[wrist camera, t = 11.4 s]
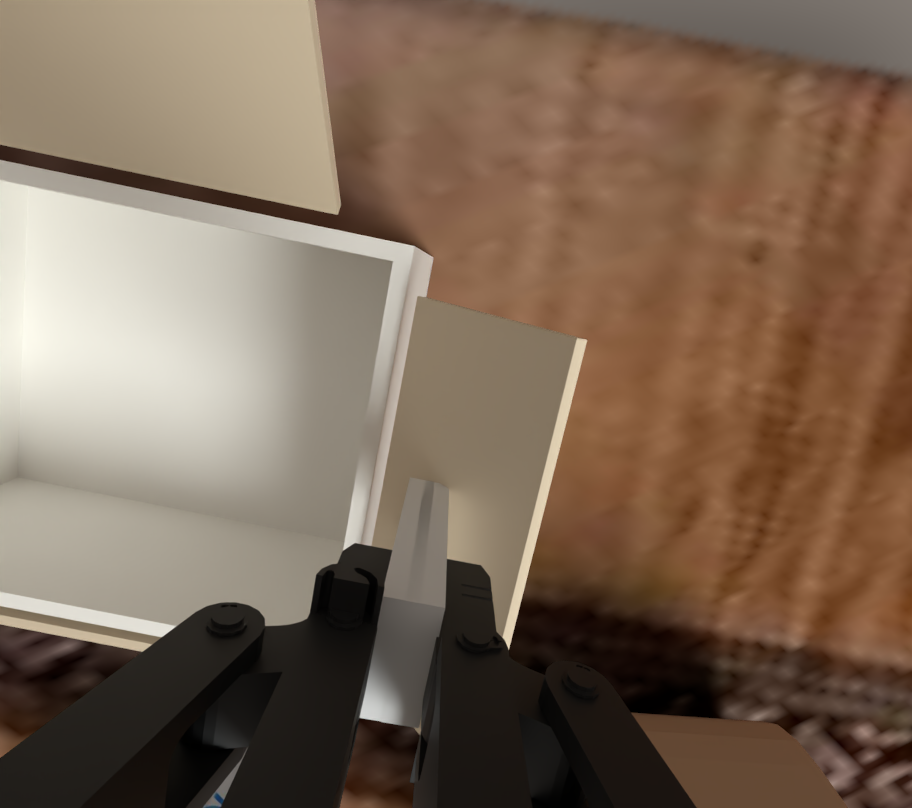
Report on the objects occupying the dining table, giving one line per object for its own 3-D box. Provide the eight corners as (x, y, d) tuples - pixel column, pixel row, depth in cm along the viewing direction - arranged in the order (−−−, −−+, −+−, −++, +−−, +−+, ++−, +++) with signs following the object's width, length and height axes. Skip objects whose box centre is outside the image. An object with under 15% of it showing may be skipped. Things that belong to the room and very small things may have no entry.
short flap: (465, 789, 16) (475, 783, 16) (577, 338, 13) (586, 339, 14) (351, 652, 21) (361, 649, 21) (417, 295, 18) (427, 297, 18)
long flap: (-490, -206, 11) (-473, -217, 11) (-158, 111, 17) (-150, 102, 17) (303, -35, 11) (308, -48, 11) (337, 214, 17) (341, 204, 18)
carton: (1, 491, 31) (-206, 584, 21) (11, 169, 27) (-233, 111, 18) (375, 564, 31) (334, 688, 22) (433, 257, 28) (414, 245, 18)
